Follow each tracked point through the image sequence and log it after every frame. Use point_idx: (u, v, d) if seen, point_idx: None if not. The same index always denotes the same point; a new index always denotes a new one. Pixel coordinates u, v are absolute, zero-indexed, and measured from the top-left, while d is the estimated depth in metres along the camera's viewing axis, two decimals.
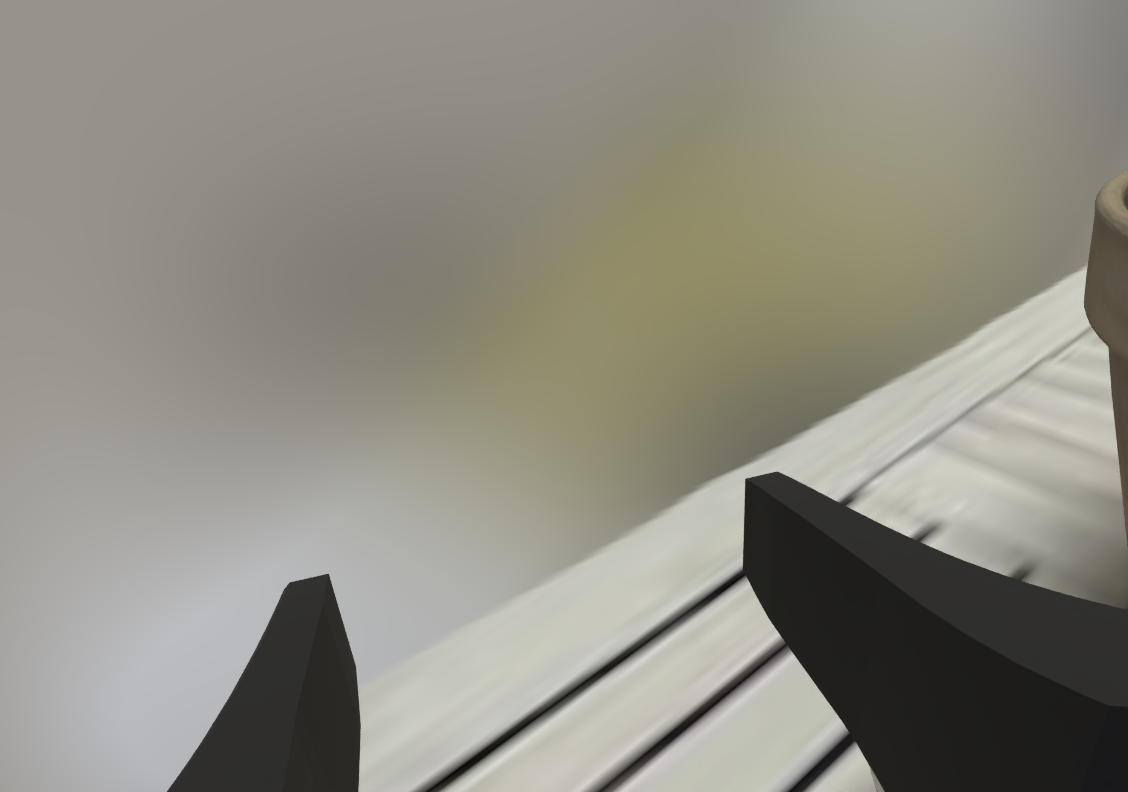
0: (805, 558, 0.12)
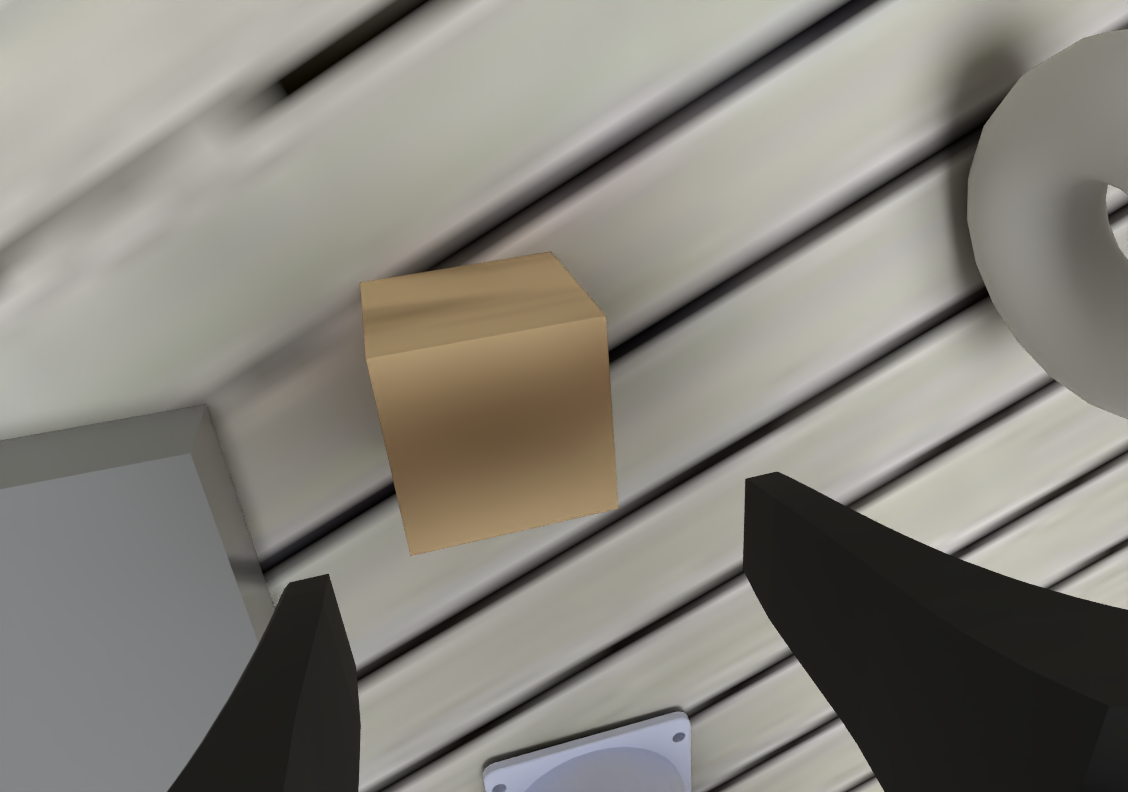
0: (805, 558, 0.12)
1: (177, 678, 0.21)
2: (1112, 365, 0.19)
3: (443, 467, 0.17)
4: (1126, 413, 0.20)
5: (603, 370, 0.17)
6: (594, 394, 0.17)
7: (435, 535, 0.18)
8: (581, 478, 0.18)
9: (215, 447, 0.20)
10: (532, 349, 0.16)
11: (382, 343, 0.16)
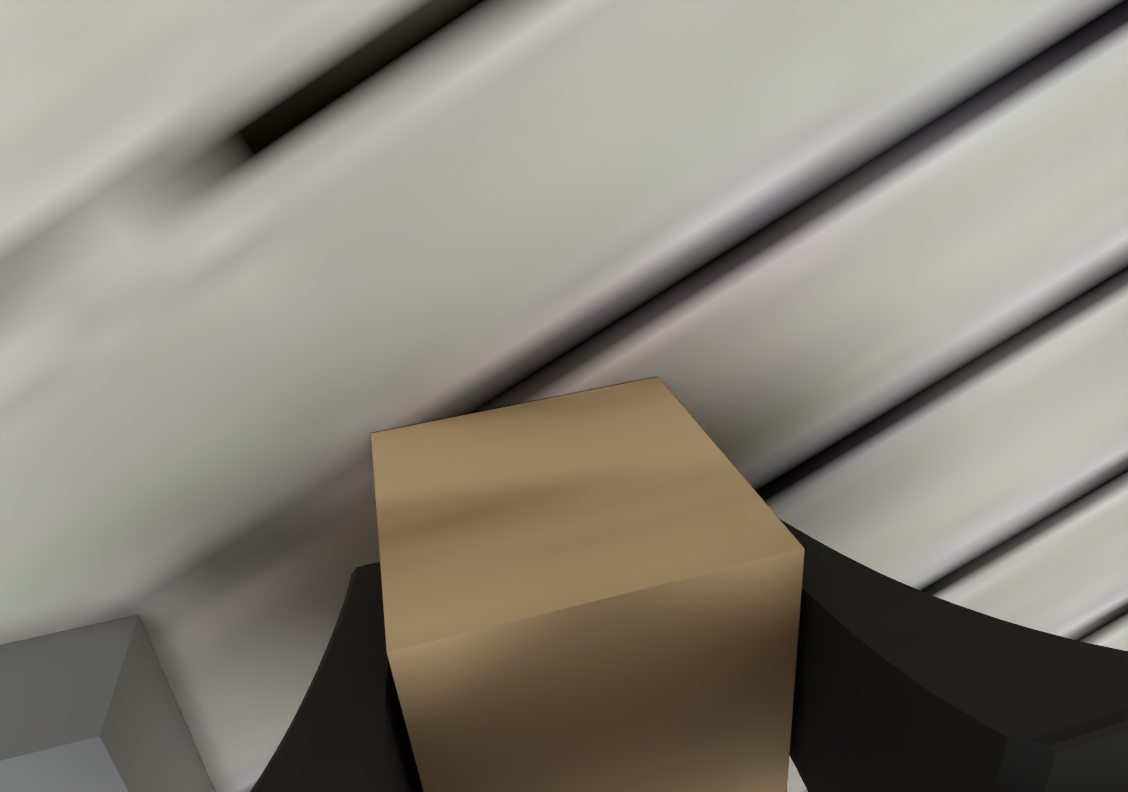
0: None
1: None
2: None
3: (515, 791, 0.10)
4: None
5: (789, 628, 0.10)
6: (770, 663, 0.10)
7: None
8: (734, 778, 0.11)
9: (152, 679, 0.13)
10: (677, 609, 0.09)
11: (415, 604, 0.09)
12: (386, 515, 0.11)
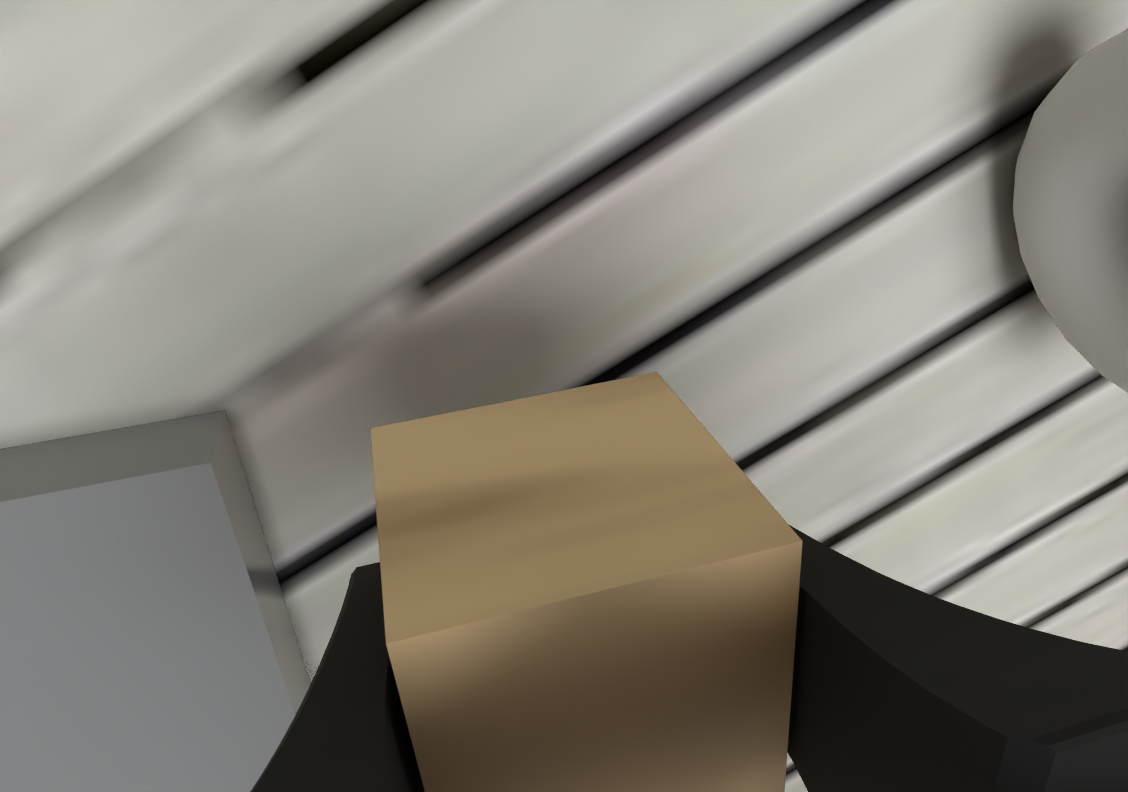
0: None
1: (192, 696, 0.20)
2: None
3: (514, 783, 0.10)
4: None
5: (787, 620, 0.10)
6: (768, 656, 0.10)
7: None
8: (733, 771, 0.11)
9: (234, 455, 0.19)
10: (676, 601, 0.09)
11: (414, 597, 0.09)
12: (385, 508, 0.11)
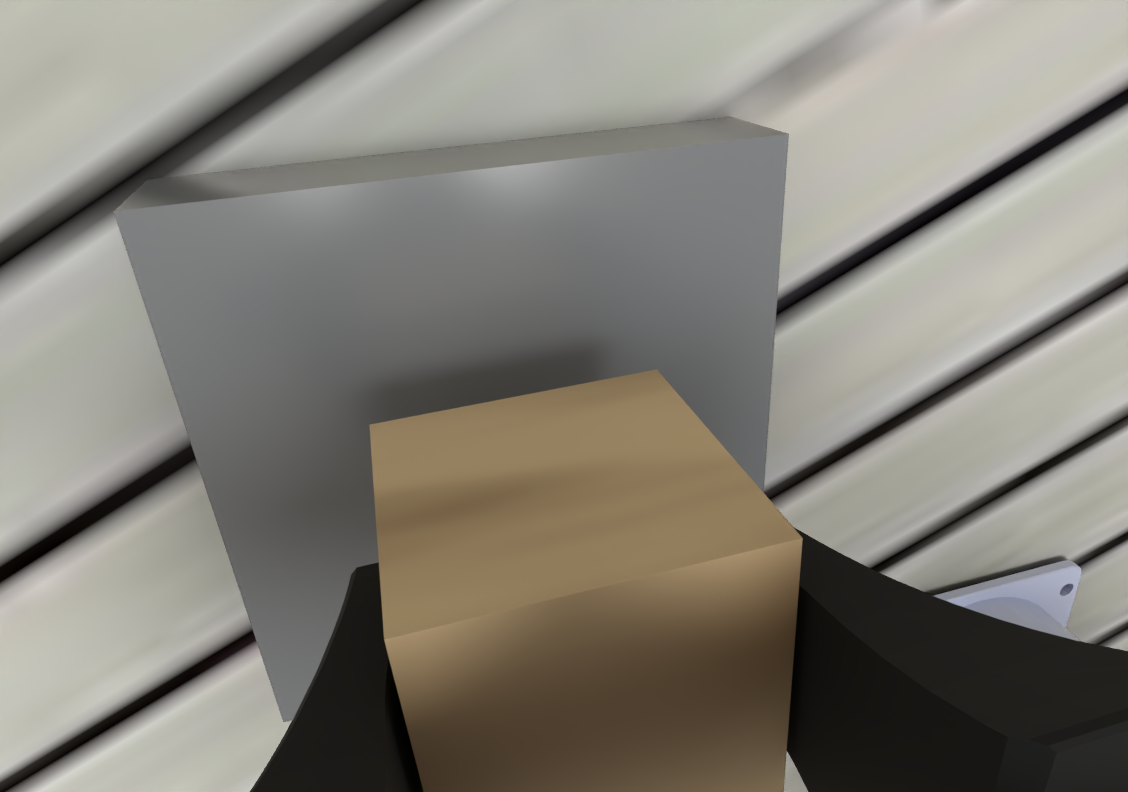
0: None
1: None
2: None
3: (512, 781, 0.10)
4: None
5: (787, 618, 0.10)
6: (768, 654, 0.10)
7: None
8: (732, 770, 0.11)
9: None
10: (676, 599, 0.09)
11: (413, 593, 0.09)
12: (384, 505, 0.11)
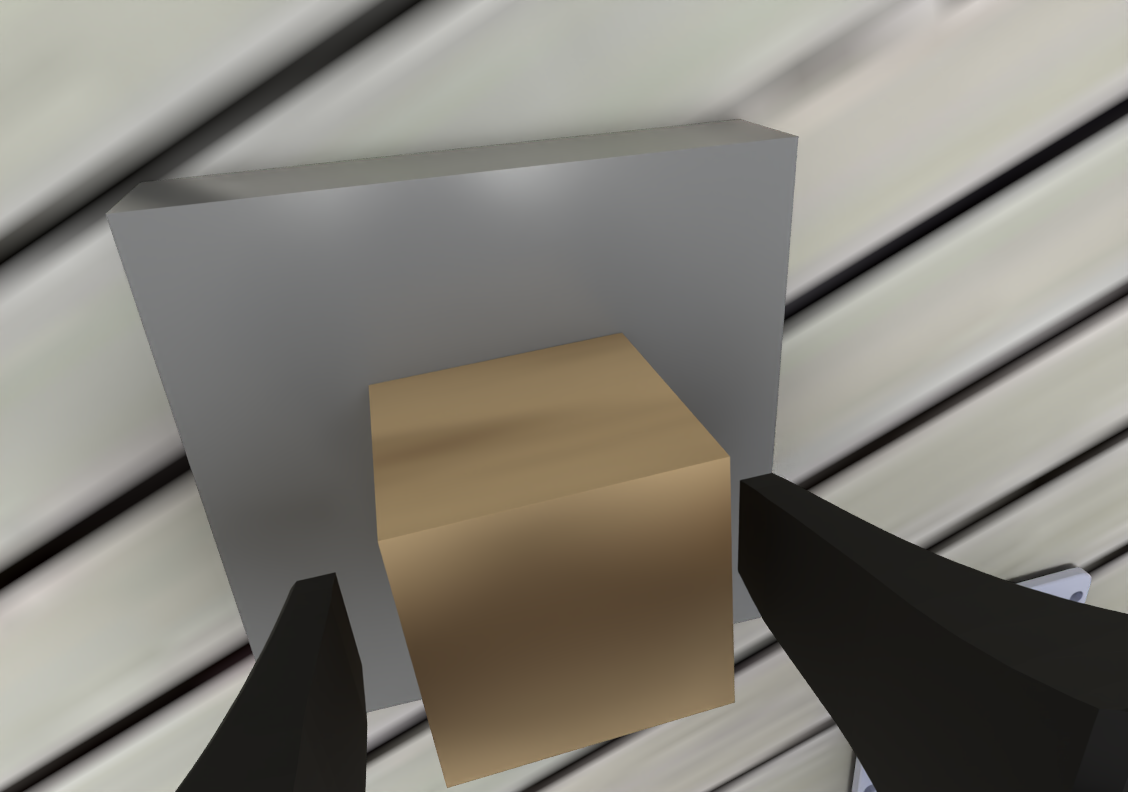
0: (799, 560, 0.12)
1: None
2: None
3: (493, 673, 0.12)
4: None
5: (723, 529, 0.12)
6: (708, 561, 0.12)
7: (482, 760, 0.12)
8: (686, 669, 0.13)
9: None
10: (624, 509, 0.11)
11: (403, 507, 0.11)
12: (380, 445, 0.13)
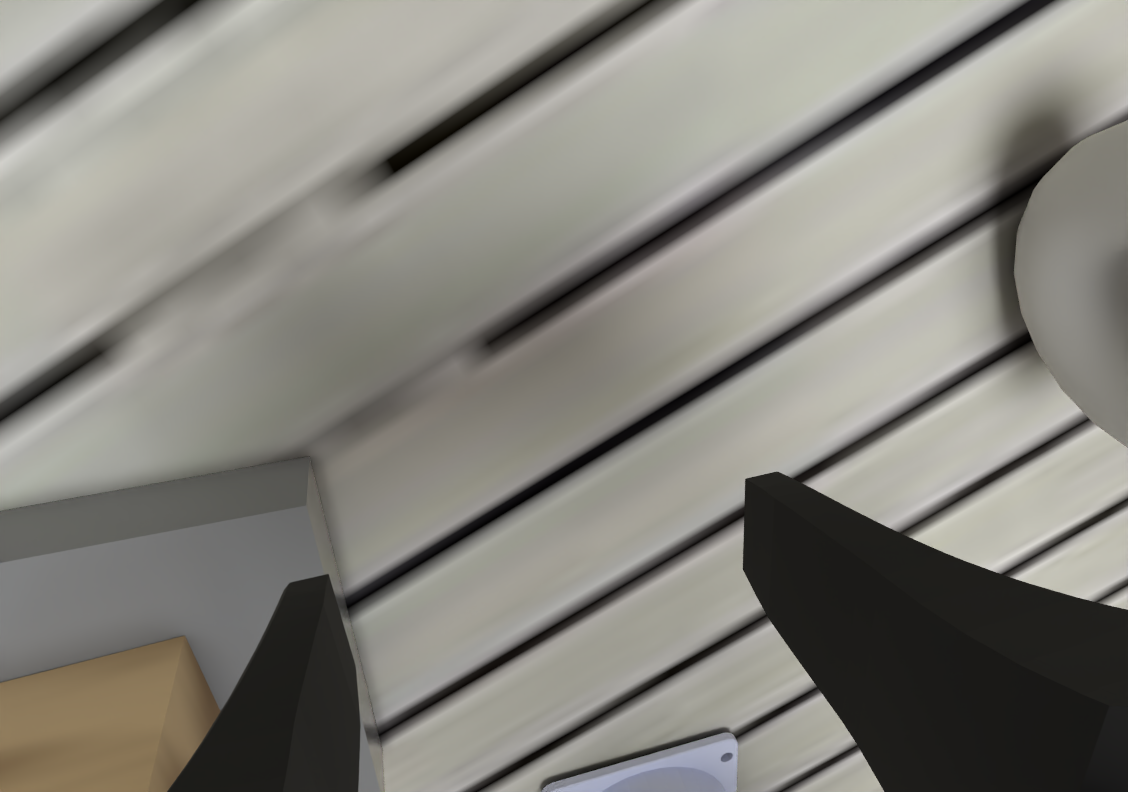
0: (806, 558, 0.12)
1: None
2: None
3: None
4: None
5: None
6: None
7: None
8: None
9: (317, 495, 0.22)
10: None
11: None
12: None
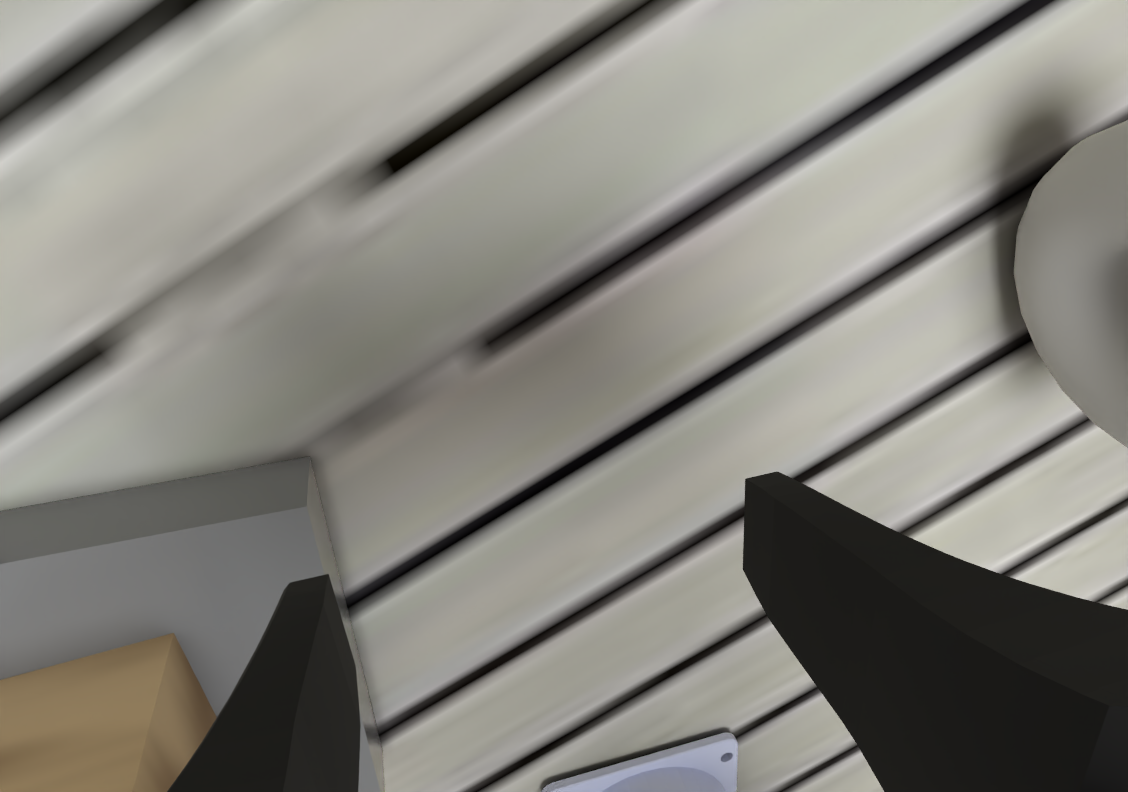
0: (806, 558, 0.12)
1: None
2: None
3: None
4: None
5: None
6: None
7: None
8: None
9: (317, 495, 0.22)
10: None
11: None
12: None
